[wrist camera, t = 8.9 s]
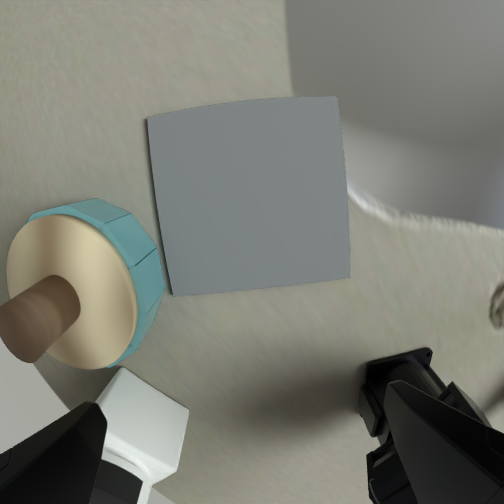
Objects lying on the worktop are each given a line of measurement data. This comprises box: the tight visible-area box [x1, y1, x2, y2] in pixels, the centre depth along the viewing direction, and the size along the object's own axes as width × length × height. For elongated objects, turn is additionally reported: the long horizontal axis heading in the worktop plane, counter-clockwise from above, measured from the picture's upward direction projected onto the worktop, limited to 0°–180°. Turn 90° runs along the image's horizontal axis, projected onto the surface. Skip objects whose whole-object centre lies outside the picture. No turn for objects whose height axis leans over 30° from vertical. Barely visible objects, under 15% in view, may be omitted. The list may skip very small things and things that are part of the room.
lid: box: [0, 214, 138, 369], centre depth 13 cm, size 10×10×6 cm
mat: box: [147, 96, 350, 297], centre depth 18 cm, size 12×12×1 cm
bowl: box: [25, 198, 165, 368], centre depth 18 cm, size 11×11×4 cm
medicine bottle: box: [89, 367, 189, 504], centre depth 17 cm, size 7×7×12 cm
